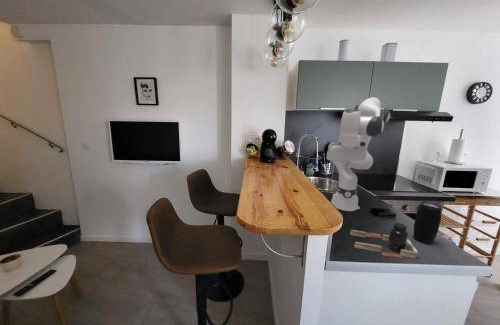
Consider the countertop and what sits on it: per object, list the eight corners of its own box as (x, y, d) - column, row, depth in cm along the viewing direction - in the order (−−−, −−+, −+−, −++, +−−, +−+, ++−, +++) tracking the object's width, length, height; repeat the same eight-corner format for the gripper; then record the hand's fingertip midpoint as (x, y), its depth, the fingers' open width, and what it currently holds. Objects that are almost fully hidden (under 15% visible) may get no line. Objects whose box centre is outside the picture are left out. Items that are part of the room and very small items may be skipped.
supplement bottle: (389, 241, 104) (393, 220, 101) (405, 248, 100) (410, 225, 97) (385, 247, 100) (390, 225, 97) (403, 254, 95) (408, 231, 92)
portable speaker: (408, 233, 112) (415, 199, 108) (429, 236, 109) (437, 202, 105) (415, 242, 104) (423, 206, 100) (438, 246, 101) (447, 209, 97)
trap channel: (349, 230, 114) (349, 226, 114) (403, 238, 107) (404, 234, 107) (355, 250, 97) (356, 245, 97) (420, 262, 90) (422, 257, 90)
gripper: (332, 143, 101) (329, 170, 104) (370, 143, 104) (366, 170, 107) (325, 141, 107) (323, 167, 110) (361, 141, 110) (358, 167, 113)
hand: (344, 168), depth 108 cm, fingers closed
